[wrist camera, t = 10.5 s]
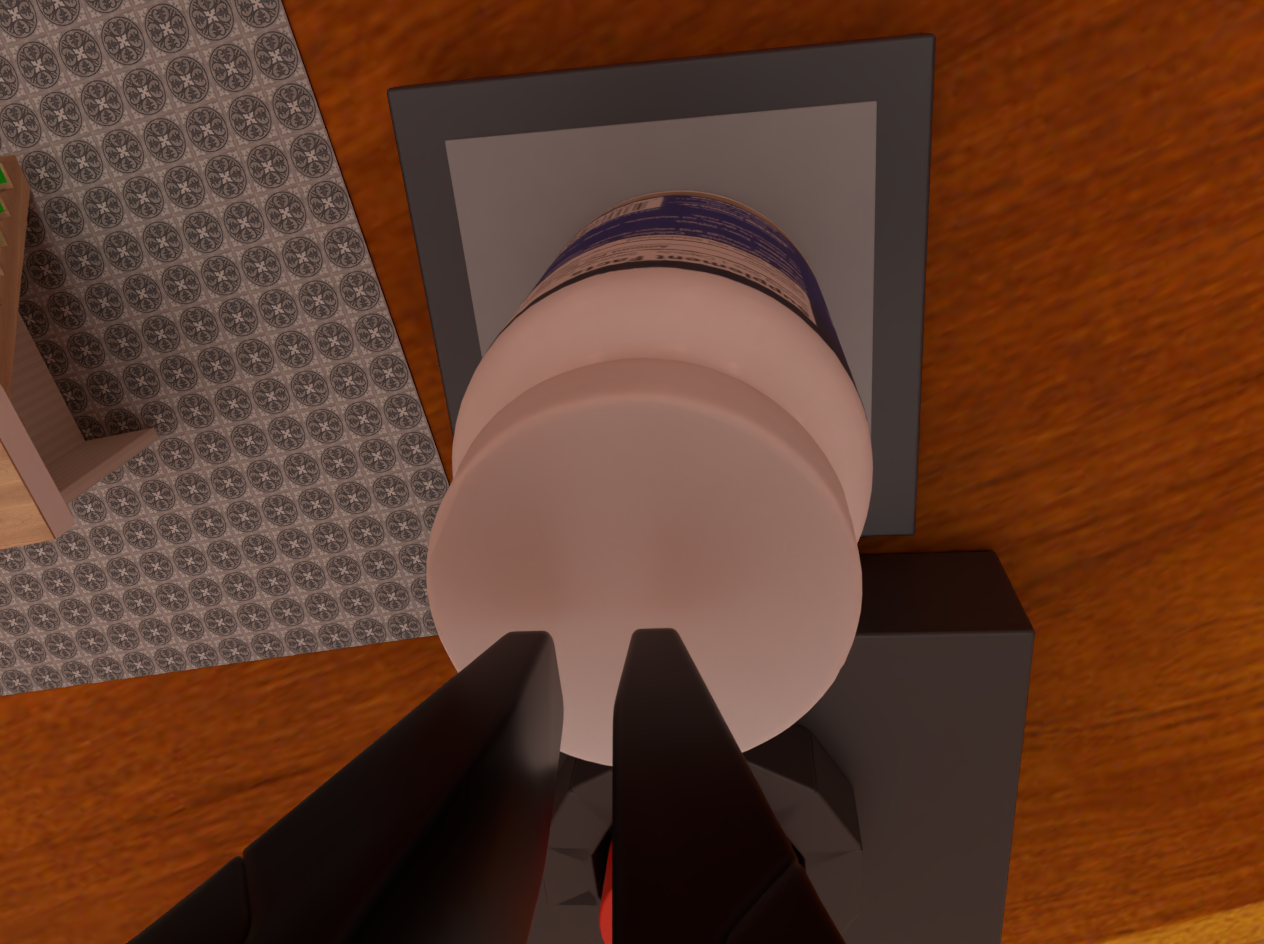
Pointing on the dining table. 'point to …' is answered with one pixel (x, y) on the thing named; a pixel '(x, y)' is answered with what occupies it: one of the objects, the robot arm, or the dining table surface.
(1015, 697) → the red arcade button box
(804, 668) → the pill bottle
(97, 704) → the dining table surface
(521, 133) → the tray
